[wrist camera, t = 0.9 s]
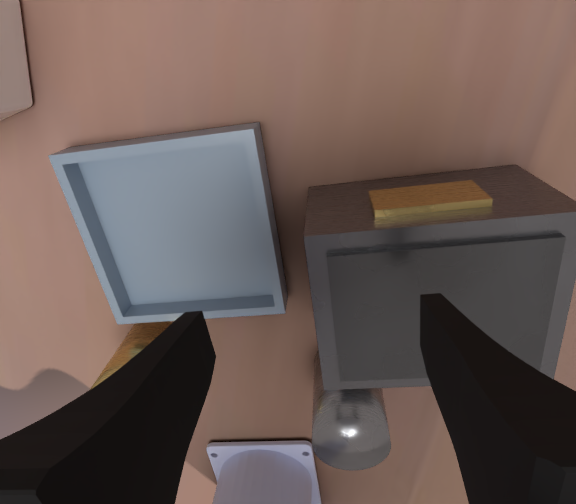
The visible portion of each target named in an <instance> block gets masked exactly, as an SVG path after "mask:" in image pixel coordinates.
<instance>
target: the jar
mask: <svg viewBox="0 0 576 504" xmlns="http://www.w3.org/2000/svg"><path fill="white" fill-rule="evenodd" d="M32 103H33V101H32V94H31V86H30V79H29V71H28V63H27V55H26V48H25V40H24V32H23V24H22V16H21V8H20V2H19V0H0V121H1V120H3V119H5V118H8V117H10V116H12V115H14V114H16V113H19V112H21V111H23V110H25V109H27V108H30V107H31V106H32Z"/></svg>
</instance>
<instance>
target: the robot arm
mask: <svg viewBox="0 0 576 504" xmlns="http://www.w3.org/2000/svg"><path fill="white" fill-rule="evenodd" d="M420 347H421V352H422V356H423V360H424V364H425V369H426V373H427V376H428V378H429V381H430V384H431V387H432V389H433V392H434V395H435V397H436V400H437V403H438V405H439V408H440V411H441V413H442V416H443V419H444V421H445V424H446V426H447V429H448V432H449V434H450V437H451V440H452V443H453V446H454V449H455V452H456V456H457V459H458V463H459V467H460V471H461V474H462V478H463V482H464V486H465V490H466V493H467V497H468V501H469V504H576V391H574V390H572V389H570V388H568V387H567V386H565V385H563V384H561V383H559V382H557V381H555V380H554V379H552V378H550V377H548V376H547V375H545V374H543V373H542V372H540V371H538V370H537V369H535V368H534V367H532V366H530V365H529V364H527V363H526V362H524V361H523V360H521V359H519V358H518V357H517V356H515V355H514V354H512V353H511V352H509V351H508V350H507V349H505V348H504V347H503V346H501V345H500V344H498V343H497V342H496V341H494V340H493V339H492V338H491V337H489V336H488V335H487V334H486V333H485V332H483V331H482V330H481V329H480V328H479V327H477V326H476V325H475V324H474V323H473V322H472V321H470V320H469V319H468V318H467V317H466V316H465V315H464V314H463V313H462V312H460V311H459V310H458V309H457V308H456V307H455V306H454V305H453V304H452V303H451V302H450V301H449V300H448V299H447V298H445V297H444V296H443V295H442V294H441V293H435V294H421V295H420ZM215 359H216V355H215V352H214V348H213V345H212V342H211V338H210V335H209V332H208V328H207V325H206V322H205V319H204V315H203V312H202V311H191V312H185V313H183V314H182V315H181V316H180V317H178V318H177V319H176V320H175V321H174V322H173V323H172V324H171V325H169V326H168V327H167V328H166V329H165V330H164V331H163V332H162V333H161V334H160V335H158V336H157V337H156V338H155V339H154V340H153V341H152V342H151V343H149V344H148V345H147V346H146V347H145V348H144V349H143V350H142V351H140V352H139V353H138V354H137V355H135V356H134V357H133V358H132V359H131V360H129V361H128V362H127V363H126V364H125V365H123V366H122V367H121V368H120V369H118V370H117V371H116V372H115V373H113V374H112V375H111V376H109V377H108V378H106V379H105V380H104V381H102V382H101V383H99V384H98V385H97V386H95V387H94V388H92V389H91V390H89V391H88V392H86V393H85V394H83V395H81V396H80V397H78V398H77V399H75V400H74V401H72V402H70V403H68V404H67V405H65V406H64V407H62V408H61V409H59V410H57V411H55V412H54V413H52V414H50V415H48V416H46V417H44V418H43V419H41V420H39V421H37V422H35V423H33V424H31V425H29V426H27V427H26V428H24V429H22V430H20V431H17V432H15V433H13V434H12V435H10V436H7V437H5V438H3V439H1V440H0V504H175V500H176V495H177V491H178V486H179V482H180V477H181V474H182V470H183V465H184V461H185V457H186V454H187V451H188V448H189V444H190V441H191V439H192V436H193V433H194V430H195V427H196V424H197V422H198V419H199V416H200V413H201V410H202V407H203V405H204V402H205V399H206V396H207V393H208V390H209V387H210V384H211V379H212V375H213V370H214V364H215ZM206 450H207V453H208V456H209V459H210V462H211V465H212V468H213V471H214V474H215V476H216V479H217V482H218V483H217V487H216V492H215V496H214V500H213V504H322V503H321V497H320V491H319V485H318V479H317V473H316V466H315V460H314V454H313V448H312V444H311V443H310V442H309V441H305V440H302V441H255V442H212V443H209V444H208V445H207V449H206Z"/></svg>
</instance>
